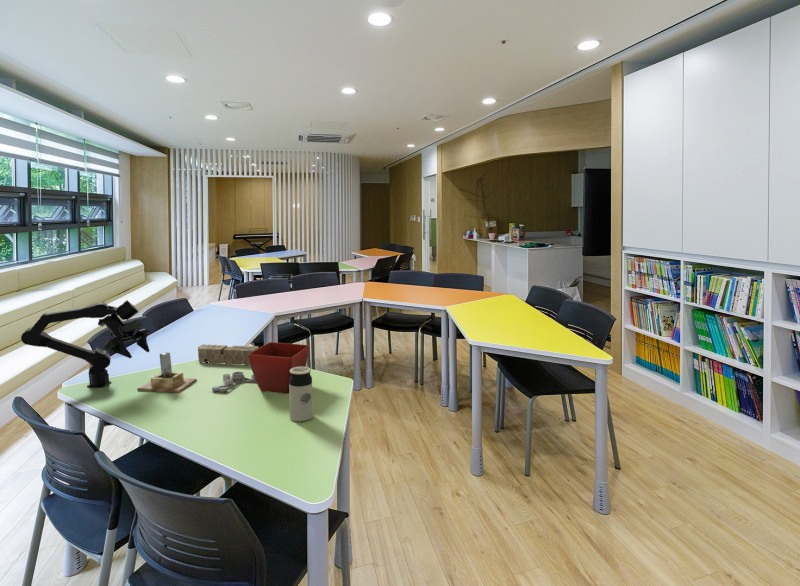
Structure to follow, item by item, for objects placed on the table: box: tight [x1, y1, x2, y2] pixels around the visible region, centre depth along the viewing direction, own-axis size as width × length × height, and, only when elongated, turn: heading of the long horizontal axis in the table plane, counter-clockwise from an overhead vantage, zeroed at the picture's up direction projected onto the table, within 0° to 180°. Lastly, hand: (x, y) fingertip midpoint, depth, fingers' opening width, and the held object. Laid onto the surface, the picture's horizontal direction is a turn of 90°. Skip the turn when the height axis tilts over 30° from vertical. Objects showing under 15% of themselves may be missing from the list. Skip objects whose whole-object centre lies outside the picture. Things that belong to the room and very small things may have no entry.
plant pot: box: [248, 341, 310, 395], centre depth 197 cm, size 19×19×17 cm
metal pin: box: [159, 351, 173, 378], centre depth 198 cm, size 4×4×13 cm
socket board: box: [136, 371, 198, 393], centre depth 199 cm, size 18×14×4 cm
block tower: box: [197, 343, 259, 366], centre depth 232 cm, size 8×8×29 cm
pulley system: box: [211, 371, 257, 393], centre depth 204 cm, size 27×5×15 cm
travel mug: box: [289, 366, 314, 423], centre depth 168 cm, size 8×8×18 cm
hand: (140, 354), depth 197 cm, fingers open, 9 cm apart
